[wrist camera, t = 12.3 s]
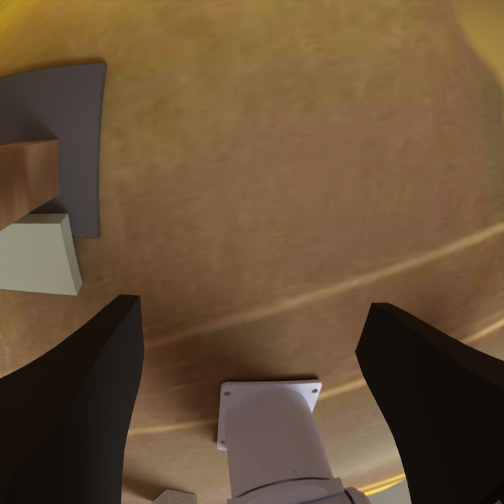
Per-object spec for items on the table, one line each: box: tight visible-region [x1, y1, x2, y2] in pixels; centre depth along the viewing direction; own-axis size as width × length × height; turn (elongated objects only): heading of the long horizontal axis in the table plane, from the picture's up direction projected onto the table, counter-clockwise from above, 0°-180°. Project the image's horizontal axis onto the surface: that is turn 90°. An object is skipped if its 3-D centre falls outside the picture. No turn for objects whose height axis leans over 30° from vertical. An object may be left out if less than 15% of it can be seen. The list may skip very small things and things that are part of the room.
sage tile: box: [0, 214, 82, 296], centre depth 16 cm, size 1×7×5 cm
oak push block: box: [0, 140, 59, 231], centre depth 12 cm, size 3×3×7 cm
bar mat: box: [0, 63, 107, 238], centre depth 15 cm, size 10×8×1 cm
